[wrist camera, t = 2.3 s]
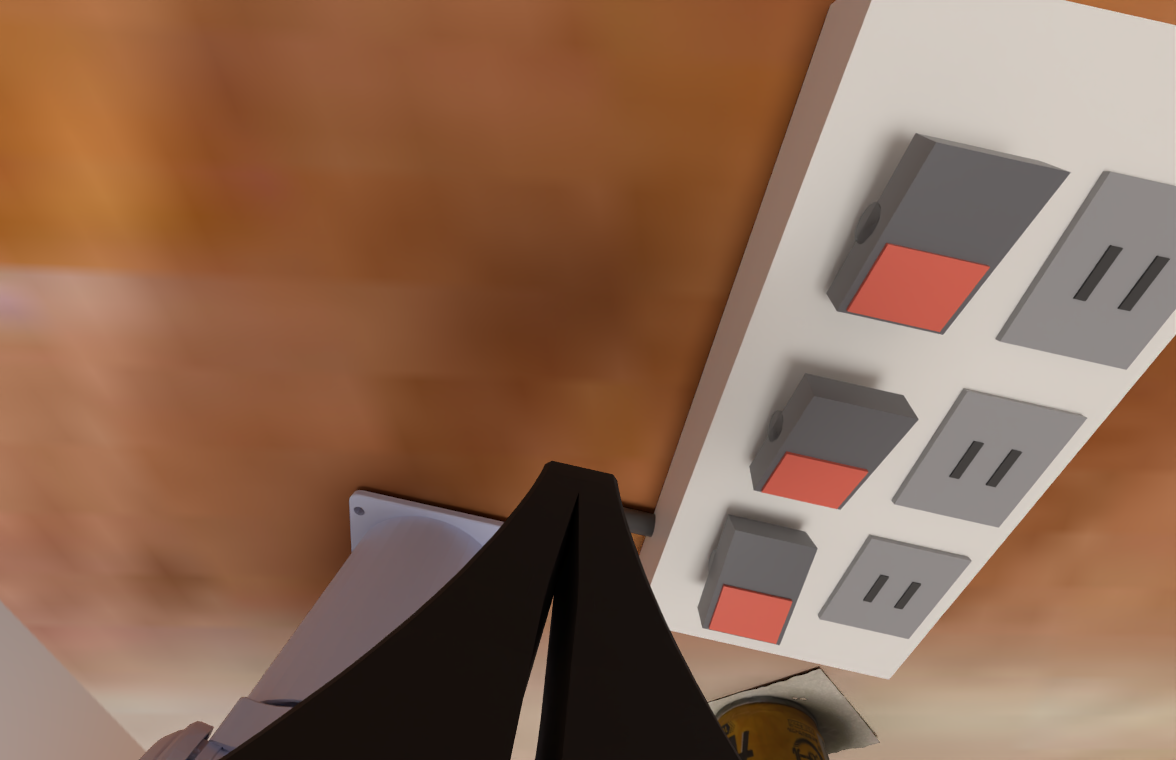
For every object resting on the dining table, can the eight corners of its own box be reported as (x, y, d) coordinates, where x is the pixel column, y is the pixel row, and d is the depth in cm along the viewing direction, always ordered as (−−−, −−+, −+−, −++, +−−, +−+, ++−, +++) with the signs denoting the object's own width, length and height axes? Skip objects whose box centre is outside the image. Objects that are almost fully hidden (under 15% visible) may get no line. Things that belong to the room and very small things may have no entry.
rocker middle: (828, 475, 16) (841, 512, 14) (747, 457, 16) (754, 492, 14) (897, 386, 13) (920, 422, 12) (802, 364, 13) (814, 398, 12)
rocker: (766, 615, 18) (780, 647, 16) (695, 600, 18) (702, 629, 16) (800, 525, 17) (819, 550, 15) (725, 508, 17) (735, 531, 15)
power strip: (856, 612, 22) (891, 685, 19) (554, 544, 22) (540, 607, 19) (1221, 92, 13) (1409, 71, 10) (684, -28, 13) (699, -87, 10)
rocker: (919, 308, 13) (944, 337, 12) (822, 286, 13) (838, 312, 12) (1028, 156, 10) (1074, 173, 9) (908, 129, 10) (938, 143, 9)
